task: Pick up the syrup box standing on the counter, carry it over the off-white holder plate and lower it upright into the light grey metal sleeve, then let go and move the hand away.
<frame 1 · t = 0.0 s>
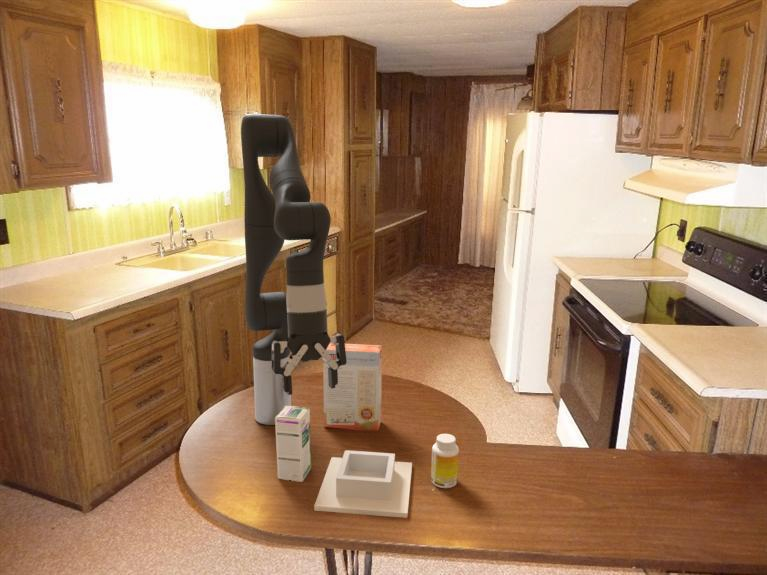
hand: (310, 390, 109), 22 cm above the counter, tool pointing down, fingers open, 8 cm apart
supplement bottle: (443, 482, 119), on the counter
sleeve holder: (366, 487, 116), on the counter
syrup box: (294, 474, 121), on the counter
cracker box: (352, 425, 143), on the counter
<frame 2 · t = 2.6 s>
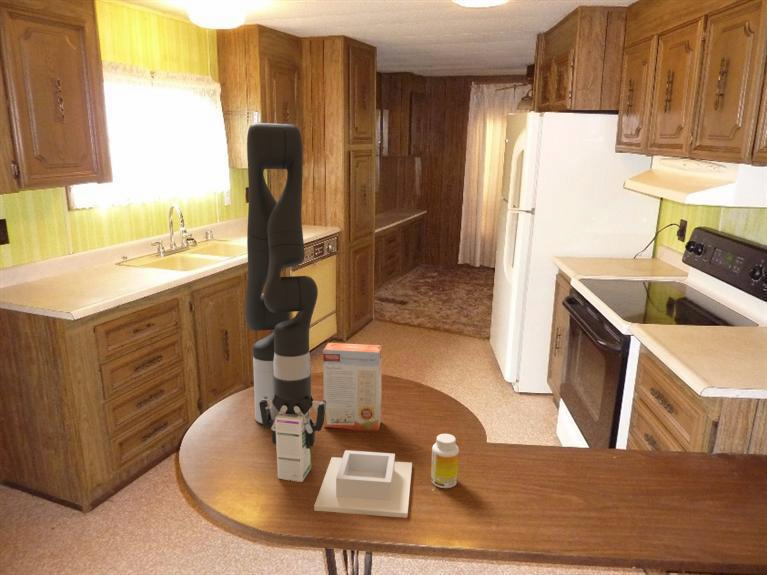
hand: (293, 445, 119), 7 cm above the counter, tool pointing down, fingers closed on syrup box, 6 cm apart
syrup box: (294, 474, 121), on the counter, touching gripper
everything else where it was.
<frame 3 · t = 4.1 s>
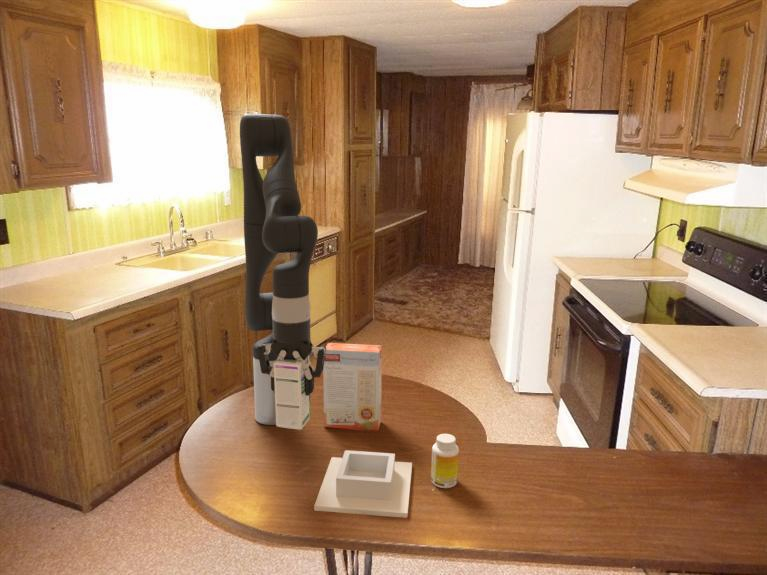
hand: (292, 392, 117), 19 cm above the counter, tool pointing down, fingers closed on syrup box, 6 cm apart
syrup box: (293, 423, 118), point 12 cm above the counter, touching gripper
everything else where it was.
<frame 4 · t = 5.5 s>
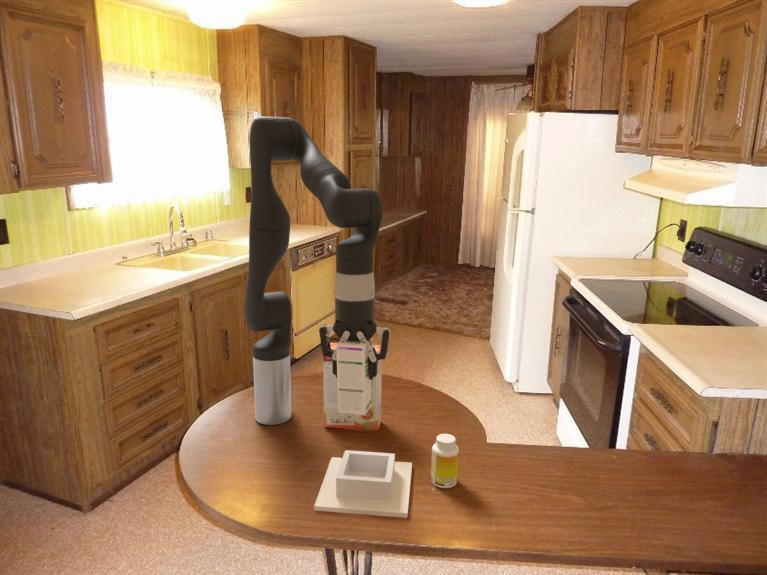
hand: (355, 377, 111), 24 cm above the counter, tool pointing down, fingers closed on syrup box, 6 cm apart
syrup box: (354, 409, 112), point 17 cm above the counter, touching gripper
everything else where it was.
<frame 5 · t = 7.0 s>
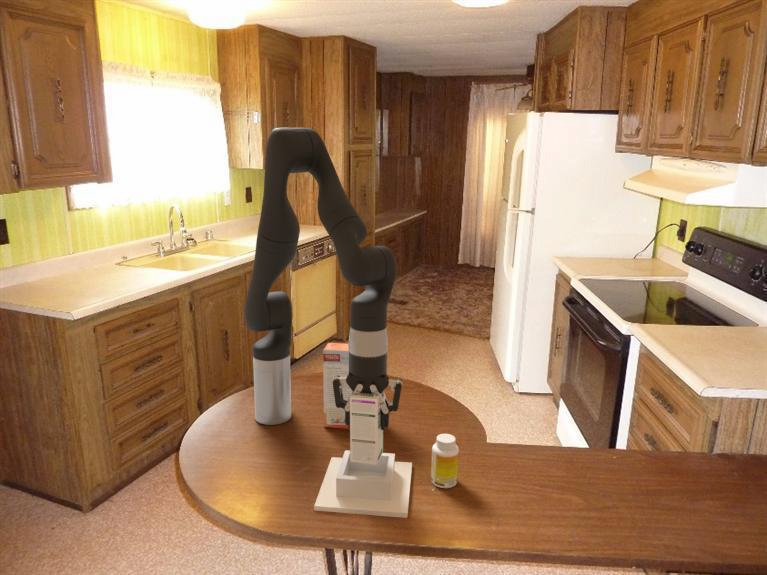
hand: (366, 427, 113), 14 cm above the counter, tool pointing down, fingers closed on syrup box, 6 cm apart
syrup box: (366, 457, 115), point 7 cm above the counter, touching gripper
everything else where it was.
when the fingers open (9 cm above the counter, at t = 8.5 s): syrup box drops 1 cm, resting on sleeve holder.
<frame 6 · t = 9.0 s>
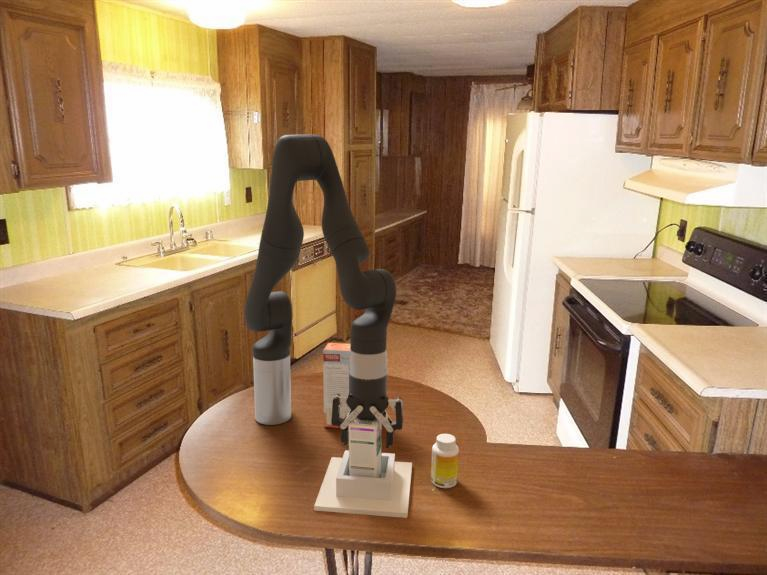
hand: (367, 445, 114), 10 cm above the counter, tool pointing down, fingers open, 8 cm apart
syrup box: (365, 483, 116), point 1 cm above the counter, touching sleeve holder
everything else where it was.
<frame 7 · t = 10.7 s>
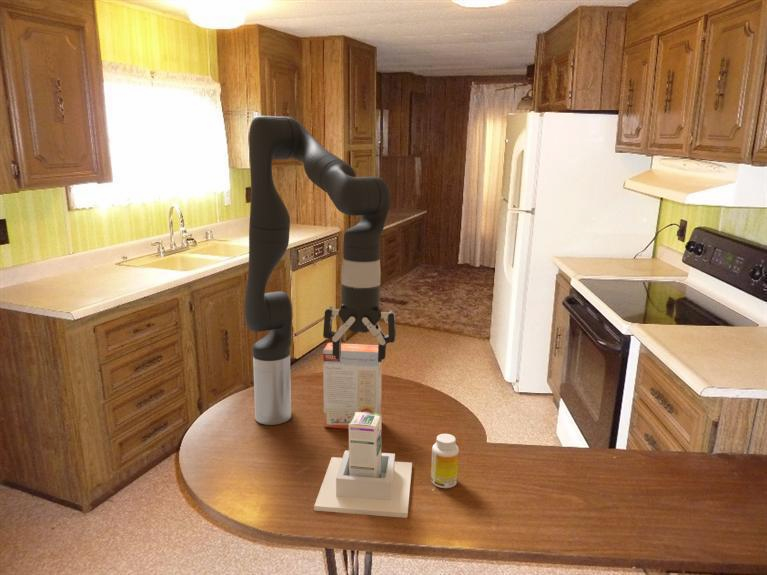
hand: (359, 359, 113), 27 cm above the counter, tool pointing down, fingers open, 8 cm apart
nothing on the counter moved.
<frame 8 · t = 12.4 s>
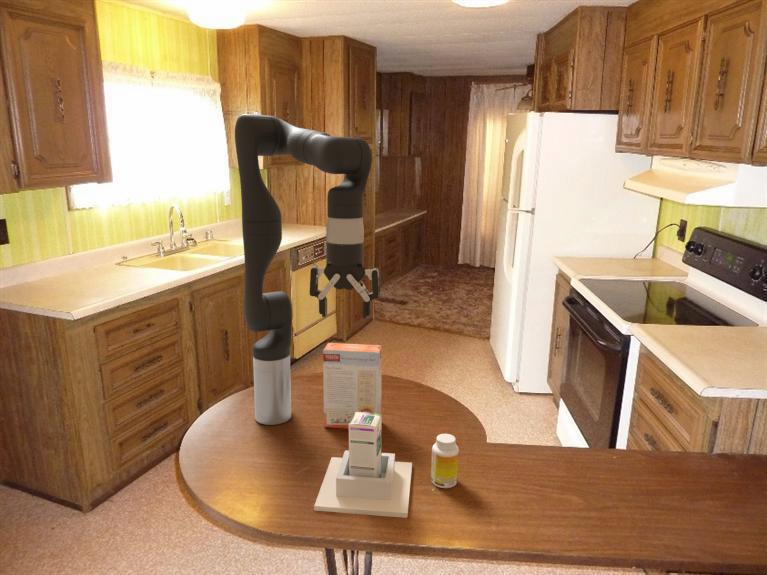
hand: (344, 316, 117), 34 cm above the counter, tool pointing down, fingers open, 8 cm apart
nothing on the counter moved.
at the end: syrup box 0.3 cm off-centre on the sleeve holder, point 0.8 cm above the sleeve holder's base; syrup box tilted 0°; the gripper is holding nothing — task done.
